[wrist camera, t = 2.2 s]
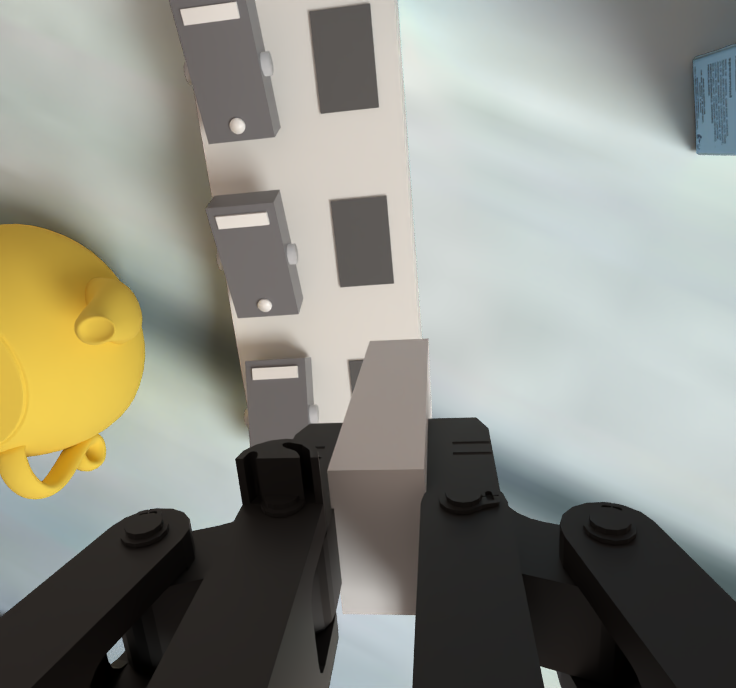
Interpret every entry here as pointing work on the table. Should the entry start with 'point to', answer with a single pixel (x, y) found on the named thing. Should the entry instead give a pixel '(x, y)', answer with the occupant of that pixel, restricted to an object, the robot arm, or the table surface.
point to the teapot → (61, 356)
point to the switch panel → (332, 189)
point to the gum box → (715, 101)
